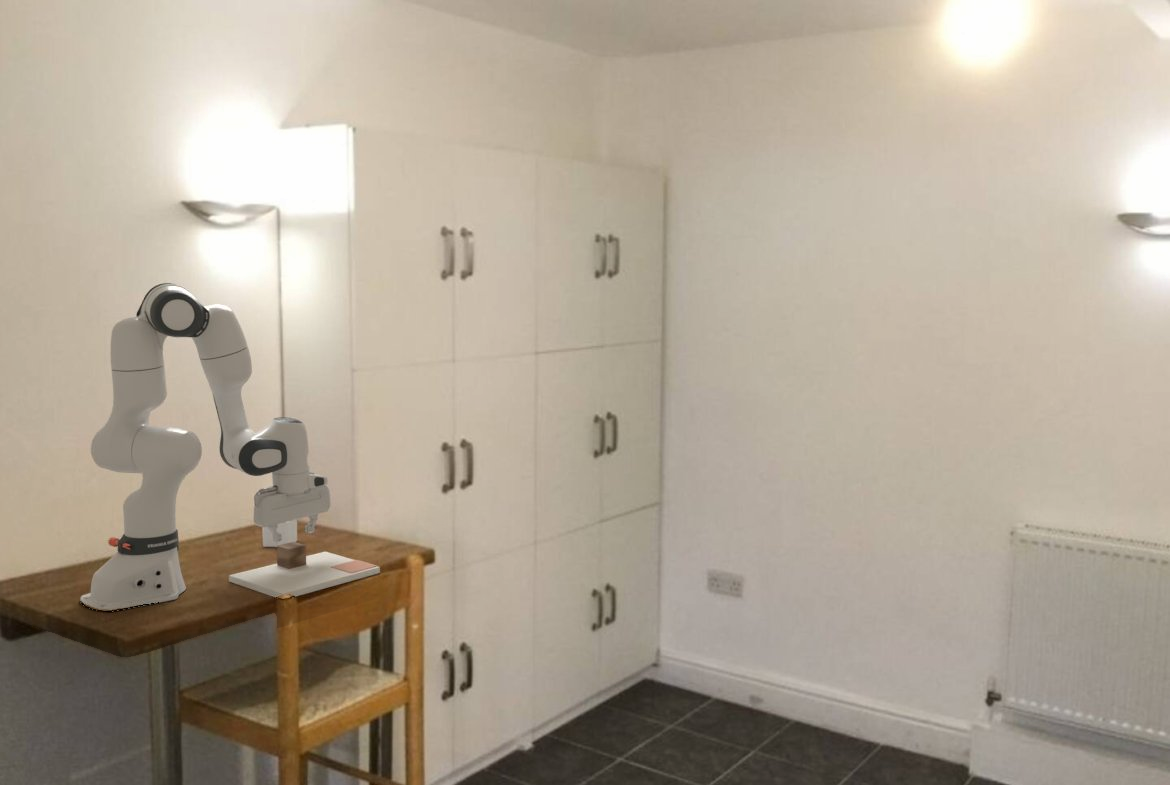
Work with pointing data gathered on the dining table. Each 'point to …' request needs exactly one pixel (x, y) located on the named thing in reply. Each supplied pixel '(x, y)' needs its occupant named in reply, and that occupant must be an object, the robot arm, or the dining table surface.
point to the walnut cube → (291, 555)
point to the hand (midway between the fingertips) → (293, 536)
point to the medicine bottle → (285, 529)
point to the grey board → (305, 575)
